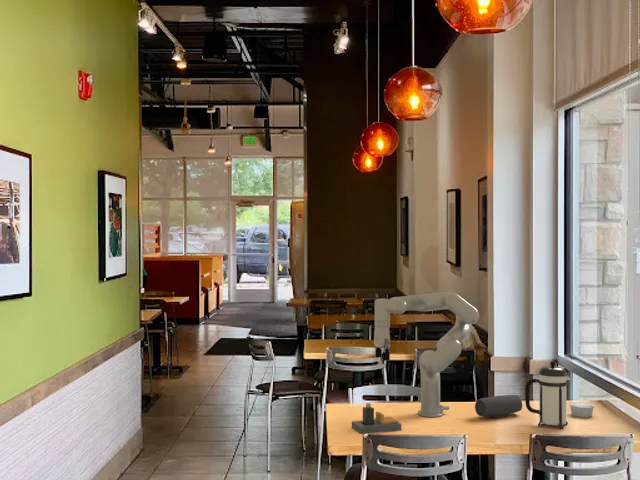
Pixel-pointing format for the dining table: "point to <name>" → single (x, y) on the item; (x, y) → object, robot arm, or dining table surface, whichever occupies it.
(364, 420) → the dark grey square bottle
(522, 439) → the dining table surface
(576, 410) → the ramekin
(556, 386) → the coffee press
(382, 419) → the orange l-shaped block
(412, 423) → the dining table surface
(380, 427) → the socket block
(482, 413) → the bluetooth speaker
